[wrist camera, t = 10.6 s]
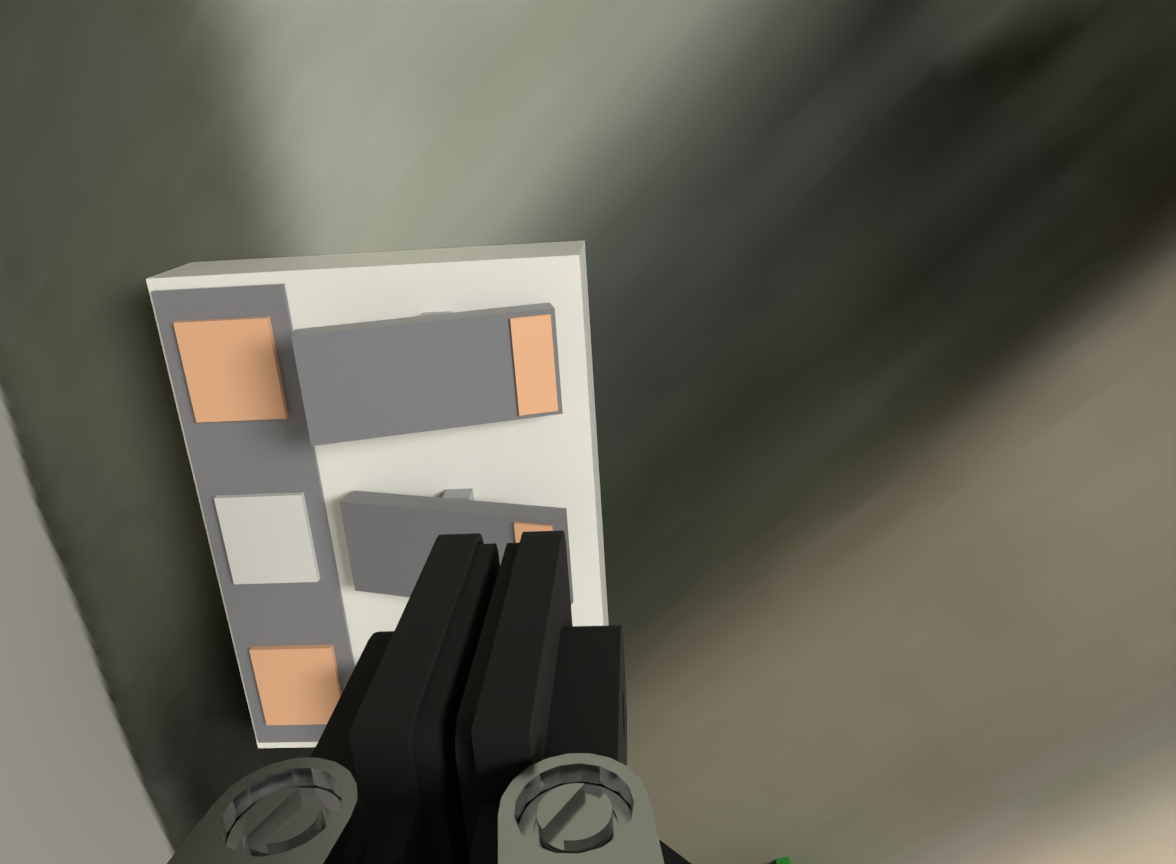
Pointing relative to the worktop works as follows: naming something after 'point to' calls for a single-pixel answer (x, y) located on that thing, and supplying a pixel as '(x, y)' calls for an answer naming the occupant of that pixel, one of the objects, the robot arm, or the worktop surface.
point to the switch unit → (355, 449)
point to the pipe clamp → (783, 860)
